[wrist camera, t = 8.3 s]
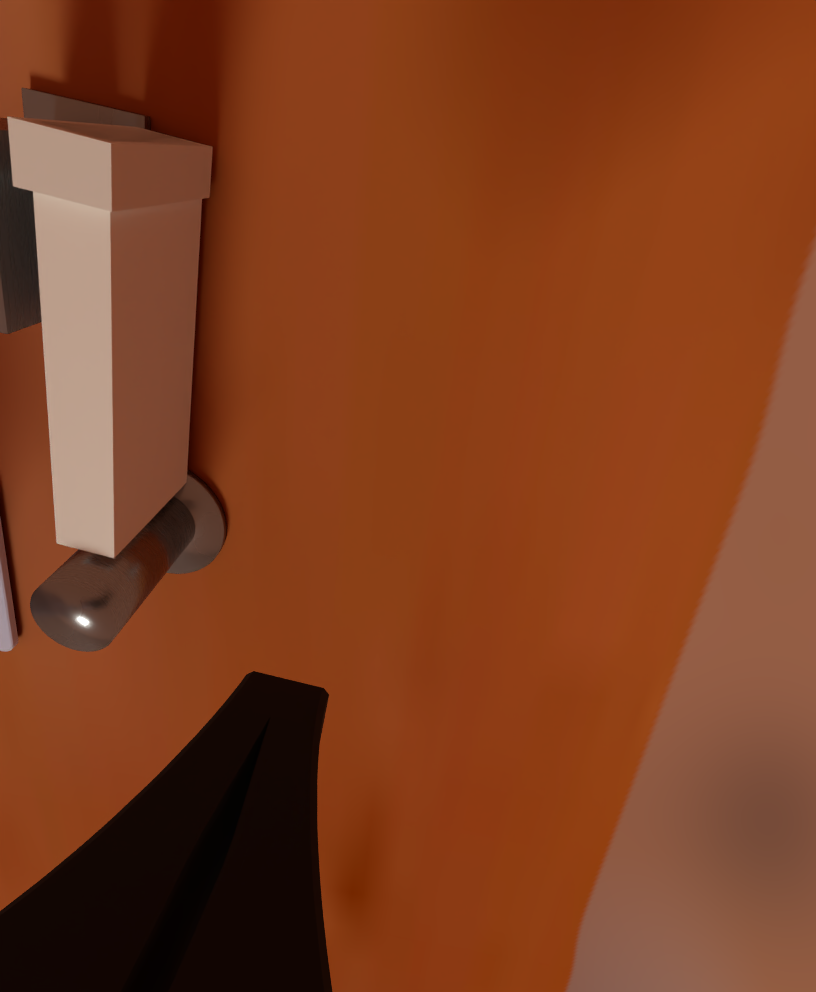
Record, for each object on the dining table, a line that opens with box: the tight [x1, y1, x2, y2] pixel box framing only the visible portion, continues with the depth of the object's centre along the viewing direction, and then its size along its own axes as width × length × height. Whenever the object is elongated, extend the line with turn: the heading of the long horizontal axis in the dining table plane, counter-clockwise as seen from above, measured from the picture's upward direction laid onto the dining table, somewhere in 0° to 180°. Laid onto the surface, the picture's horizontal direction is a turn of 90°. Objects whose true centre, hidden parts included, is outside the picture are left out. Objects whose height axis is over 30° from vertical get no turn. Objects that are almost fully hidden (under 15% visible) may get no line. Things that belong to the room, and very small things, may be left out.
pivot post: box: [30, 470, 227, 652], centre depth 20 cm, size 4×4×6 cm
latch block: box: [0, 88, 150, 334], centre depth 15 cm, size 3×5×5 cm, turn 169°
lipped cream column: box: [7, 116, 213, 558], centre depth 16 cm, size 10×2×5 cm, turn 167°
